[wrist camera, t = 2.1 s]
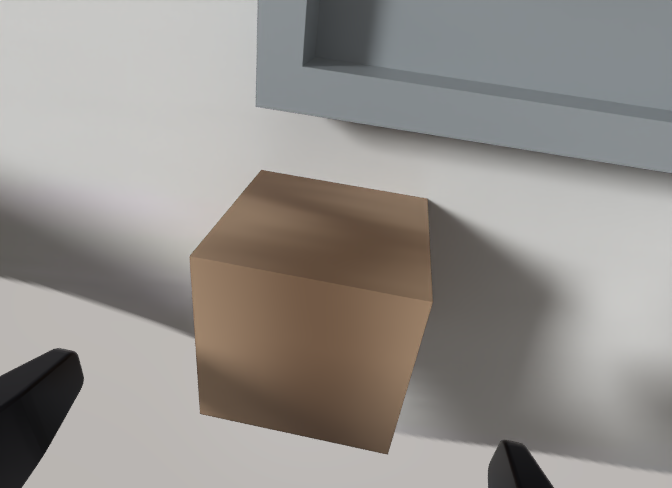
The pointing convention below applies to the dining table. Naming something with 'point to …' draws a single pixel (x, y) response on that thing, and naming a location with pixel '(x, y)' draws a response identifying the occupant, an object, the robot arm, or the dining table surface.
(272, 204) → the walnut block
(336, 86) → the grey tray
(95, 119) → the dining table surface
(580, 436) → the dining table surface
